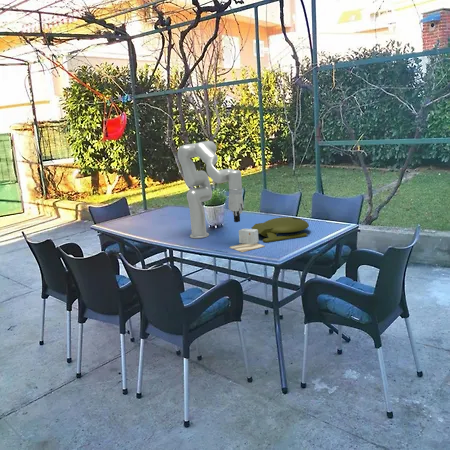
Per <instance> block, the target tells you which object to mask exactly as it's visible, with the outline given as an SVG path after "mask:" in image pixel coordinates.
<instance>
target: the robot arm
mask: <svg viewBox="0 0 450 450" xmlns="http://www.w3.org/2000/svg"><path fill="white" fill-rule="evenodd" d="M216 152H217V145H216V143H215V142H214V141H212V140H207V141H199V142H198V143H188V144H183V145H181V146H180V147H179V148H178V150H177V159H178V161H179V163H180V166H181V169H182V174H183V177H184V178H183V179H184V181H185V185H186V186H187V187H189V188H191V189H190V190H188V191H187V193H186V200H187V204H188V208H189V218H190V226H191V227H190V231H191V233H190V234H189V238H191V239H204V238H207V237H209V235H210V234H209V232H207V223H206V215H205V214H206V213H205V207H204V206H203V205H202V203H204V202H208V201H210V200H211V199H212V198H213V190H212V186H211V182H210V179H211V180H212V181H213V182H214V183H215V184H223V183H227V182H228V191H229V192H228V201H227V203H228V210H230V211H231V212H232V215H233V222H234V223H239V222H241V214H243V211H244V199H243V187H242V186H243V183H242V172H241V170H238V169H233V168H225V169H219V170H218V169H217V168H216V167H215V165H216V163H217V162H218V160H219V157H218V155H217V154H216ZM197 157H199V158H200V160H201V161H203V163H204V164H205V165H206V166H205V167H206V168H205V169H206V171H205V170H197V168H196V165H195V162H193V161H194V160H192V159H191V158H197ZM198 186H199V187H198ZM193 187H196V188H193Z"/></svg>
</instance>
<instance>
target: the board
mask: <svg viewBox="0 0 450 450" xmlns="http://www.w3.org/2000/svg"><path fill="white" fill-rule="evenodd" d="M228 248H229V249H232V250H235V251H236V252H239V253H245V252H250V251H255V250H257V249H261V248H266V246H265V245H264V244H261V243H259V242H258V243H256V244H244V243H239V244H235V245H231V246H229V247H228Z"/></svg>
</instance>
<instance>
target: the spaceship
mask: <svg viewBox="0 0 450 450" xmlns="http://www.w3.org/2000/svg"><path fill="white" fill-rule="evenodd" d="M309 226H310V224H309V223H308V221H306V220H304V219H301V218H298V217H294V216H293V217H292V216H287V217H286V216H283V217H281V216H280V217H275V218H274V217H273V218H271V219H268V220H266V221H264V222H259V223H255V224H254V225H253V226H252V227H251V229H258V235H261V236H263V237H264V238H263V239H262V242H263V243H272V242H278V241H286V240H292V239H299V238H305V237H307V236H308V233H307V232H301V231H304V230H306V229H308V228H309ZM295 232H296V233H295ZM284 233H291V234H284ZM278 234H284V235H278Z"/></svg>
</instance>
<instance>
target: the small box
mask: <svg viewBox="0 0 450 450" xmlns="http://www.w3.org/2000/svg"><path fill="white" fill-rule="evenodd" d="M238 240H239V242H238V243H239V244H243V243H244V244H256V243H258V244H259V241H260V240H259V233H258V229H252V228H241V229H239V230H238Z"/></svg>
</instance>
